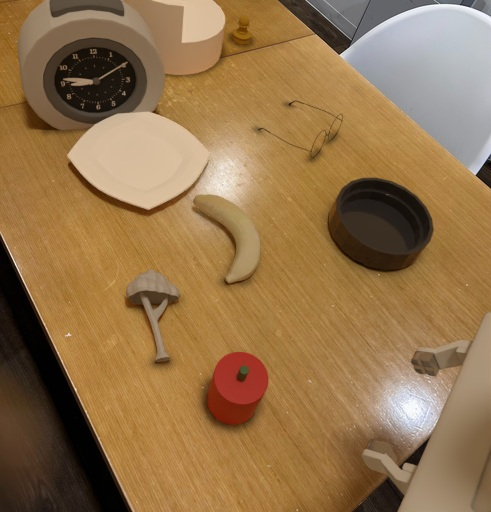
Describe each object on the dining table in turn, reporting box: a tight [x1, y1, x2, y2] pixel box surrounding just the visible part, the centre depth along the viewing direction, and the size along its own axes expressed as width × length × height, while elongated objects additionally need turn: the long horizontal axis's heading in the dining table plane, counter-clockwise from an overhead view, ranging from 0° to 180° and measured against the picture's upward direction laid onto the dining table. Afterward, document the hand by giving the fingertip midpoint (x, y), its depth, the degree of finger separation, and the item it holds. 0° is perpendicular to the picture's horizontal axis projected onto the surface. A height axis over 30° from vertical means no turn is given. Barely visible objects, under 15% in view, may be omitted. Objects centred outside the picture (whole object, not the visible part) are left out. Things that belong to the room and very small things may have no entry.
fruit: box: [192, 193, 262, 284], centre depth 72 cm, size 7×15×3 cm, turn 22°
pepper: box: [206, 351, 269, 426], centre depth 56 cm, size 6×6×9 cm
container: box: [123, 0, 226, 76], centre depth 94 cm, size 20×20×13 cm
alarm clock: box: [16, 0, 166, 131], centre depth 77 cm, size 21×8×20 cm, turn 109°
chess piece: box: [231, 15, 252, 46], centre depth 103 cm, size 4×4×5 cm
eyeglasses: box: [257, 100, 344, 159], centre depth 88 cm, size 11×13×5 cm
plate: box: [66, 112, 212, 211], centre depth 78 cm, size 19×19×2 cm
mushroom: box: [125, 269, 181, 363], centre depth 62 cm, size 7×5×12 cm
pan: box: [328, 177, 435, 271], centre depth 77 cm, size 15×15×4 cm
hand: (393, 403), depth 39 cm, fingers open, 8 cm apart
